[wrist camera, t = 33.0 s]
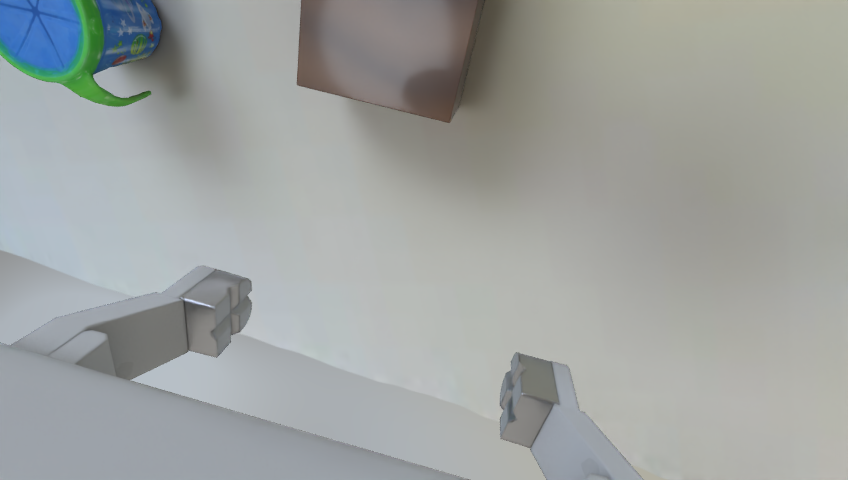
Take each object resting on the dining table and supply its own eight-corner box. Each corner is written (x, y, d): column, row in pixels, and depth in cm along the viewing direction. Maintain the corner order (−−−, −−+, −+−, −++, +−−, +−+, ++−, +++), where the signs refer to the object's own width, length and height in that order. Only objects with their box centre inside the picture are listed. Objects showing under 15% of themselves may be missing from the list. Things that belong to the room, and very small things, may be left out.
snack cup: (207, 89, 42) (128, 100, 33) (128, 108, 44) (34, 124, 35) (133, -94, 35) (9, -141, 26) (45, -59, 38) (-95, -92, 29)
